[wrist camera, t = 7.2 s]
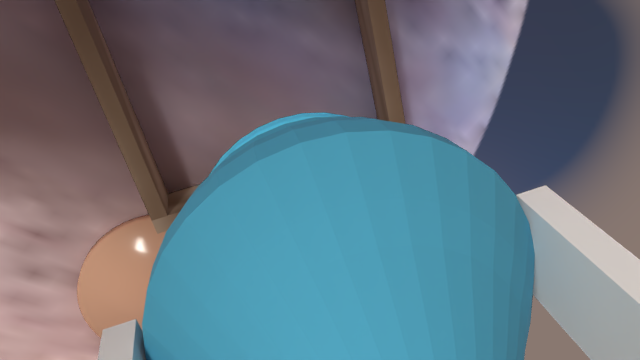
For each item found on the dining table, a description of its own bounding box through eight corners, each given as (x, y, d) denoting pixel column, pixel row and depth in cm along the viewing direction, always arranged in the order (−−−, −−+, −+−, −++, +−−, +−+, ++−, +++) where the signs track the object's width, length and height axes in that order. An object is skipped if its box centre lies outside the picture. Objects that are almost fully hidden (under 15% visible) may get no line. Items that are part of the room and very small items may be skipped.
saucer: (118, 370, 44) (117, 377, 43) (48, 244, 38) (46, 251, 37) (269, 320, 45) (270, 326, 44) (223, 190, 39) (224, 196, 38)
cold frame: (158, 210, 39) (151, 328, 28) (32, -83, 30) (-47, -71, 19) (395, 137, 40) (472, 223, 30) (342, -162, 31) (424, -192, 21)
